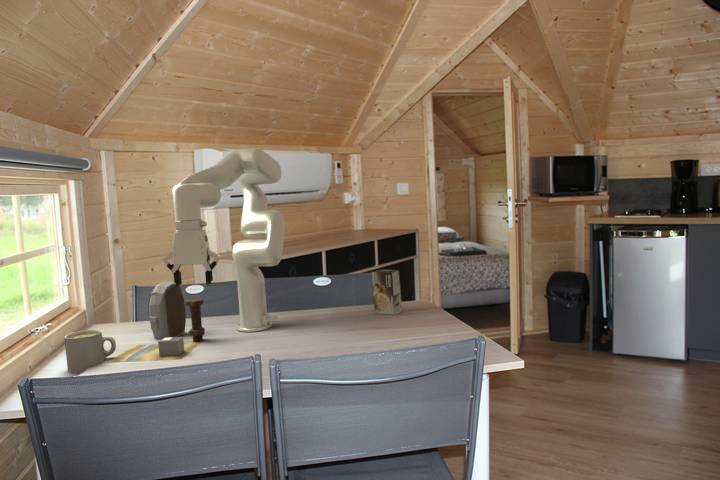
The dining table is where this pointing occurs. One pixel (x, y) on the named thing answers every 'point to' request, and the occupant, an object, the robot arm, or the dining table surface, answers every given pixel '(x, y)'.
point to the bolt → (196, 319)
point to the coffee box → (387, 292)
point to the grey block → (171, 346)
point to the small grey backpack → (167, 310)
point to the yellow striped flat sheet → (150, 353)
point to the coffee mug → (86, 349)
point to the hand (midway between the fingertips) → (193, 284)
